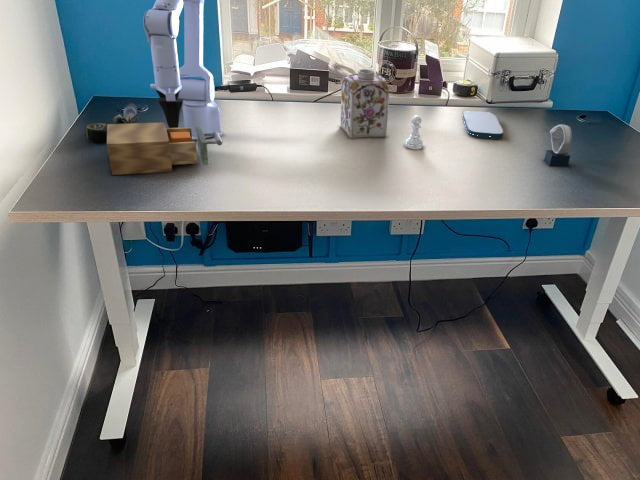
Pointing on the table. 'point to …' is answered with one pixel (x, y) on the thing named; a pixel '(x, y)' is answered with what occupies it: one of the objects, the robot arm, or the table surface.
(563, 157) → the watch
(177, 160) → the drawer
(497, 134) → the external hard drive
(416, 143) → the chess pawn
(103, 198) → the table surface
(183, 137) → the plain orange block
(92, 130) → the tape measure
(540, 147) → the table surface
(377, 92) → the decorative jar
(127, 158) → the cabinet
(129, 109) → the eagle figurine
